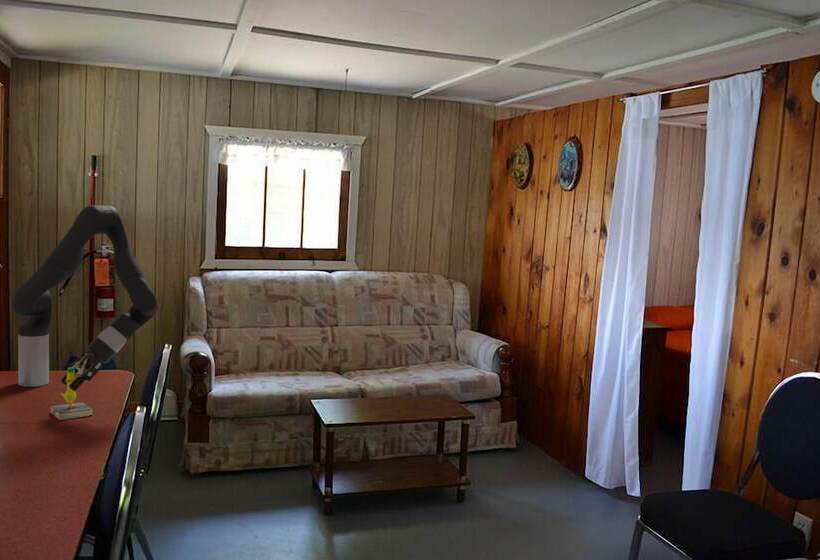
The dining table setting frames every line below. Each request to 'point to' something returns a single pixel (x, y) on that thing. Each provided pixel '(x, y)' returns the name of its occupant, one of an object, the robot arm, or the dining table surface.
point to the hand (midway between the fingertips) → (67, 386)
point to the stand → (71, 411)
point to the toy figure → (69, 394)
